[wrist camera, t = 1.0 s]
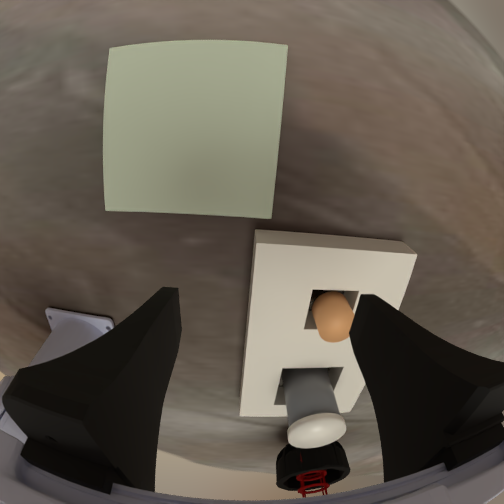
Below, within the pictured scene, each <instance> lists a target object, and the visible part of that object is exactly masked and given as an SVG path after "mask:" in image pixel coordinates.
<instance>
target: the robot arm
mask: <svg viewBox="0 0 504 504" xmlns="http://www.w3.org/2000/svg"><path fill="white" fill-rule="evenodd" d="M45 313H46V316H47V319H48V321H49V324H50V327H51V330H52V332H51V334H50V335H49V336H48V338H47V339H46V341H45V342H44V344H43V345H42V346H41V348H40V349H39V351H38V352H37V354H36V355H35V357H34V358H33V360H32V361H31V363H30V364H29V366H28V367H26V368H22V369H19V370H18V372H17V374H16V375H15V376H11V377H10V376H5V377H4V378H3V379H2V380H1V382H0V504H486V503H488V502H489V501H491V500H492V499H493V498H495V497H496V496H498V495H499V494H500V493H502V492H503V491H504V427H503V425H502V424H501V422H503V421H504V416H503V414H502V411H503V410H504V362H500V361H495V360H491V359H488V358H485V357H482V356H479V355H476V354H473V353H471V352H468V351H466V350H464V349H461V348H459V347H457V346H455V345H453V344H450V343H449V342H447V341H445V340H443V339H441V338H439V337H437V336H436V335H434V334H432V333H431V332H429V331H428V330H426V329H425V328H423V327H421V326H420V325H418V324H417V323H415V322H414V321H413V320H411V319H410V318H408V317H407V316H405V315H404V314H403V313H401V312H400V311H398V310H397V309H396V308H394V307H393V306H391V305H390V304H389V303H387V302H386V301H384V300H383V299H381V298H380V297H378V296H376V295H375V294H361V295H360V298H359V302H358V305H357V308H356V312H355V315H354V318H353V322H352V325H351V328H350V331H349V336H350V340H351V345H352V349H353V352H354V355H355V358H356V360H357V363H358V365H359V368H360V371H361V373H362V375H363V378H364V380H365V383H366V385H367V388H368V391H369V393H370V396H371V399H372V402H373V406H374V410H375V414H376V418H377V423H378V428H379V434H380V440H381V447H382V456H383V469H384V483H381V484H377V485H373V486H369V487H365V488H361V489H356V490H351V491H346V492H341V493H335V494H328V495H322V496H314V497H306V498H296V499H283V500H266V501H265V500H261V501H235V500H213V499H201V498H190V497H182V496H175V495H168V494H162V493H155V468H156V454H157V444H158V436H159V427H160V420H161V414H162V407H163V402H164V398H165V394H166V390H167V387H168V384H169V380H170V377H171V374H172V370H173V367H174V363H175V360H176V357H177V353H178V349H179V343H180V337H181V331H182V327H181V317H180V305H179V292H178V288H172V287H162V288H161V289H160V290H159V291H158V292H156V293H155V294H154V295H153V296H152V297H151V298H150V299H149V300H147V301H146V302H145V303H144V304H143V305H142V306H141V307H139V308H138V309H137V310H136V311H135V312H134V313H132V314H131V315H130V316H129V317H127V318H126V319H125V320H123V321H122V322H121V323H119V324H118V325H117V326H116V327H114V323H113V321H112V320H111V319H110V318H107V317H100V316H94V315H88V314H82V313H76V312H70V311H65V310H59V309H54V308H47V309H46V310H45ZM108 326H109V327H110V328H109V327H108Z"/></svg>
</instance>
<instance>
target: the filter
mask: <svg viewBox="0 0 504 504" xmlns="http://www.w3.org/2000/svg"><path fill="white" fill-rule="evenodd" d="M349 473H350V467H349V464H348V460H347V457H346V454H345V450H344V449H343V447H342V445H341V444H340V443H339V442H337V441H334V442H332V443H330V444H327V445H324V446H321V447H316V448H298V447H294V446H292V445H291V444H290V443H289V444H287V445H286V447H285V448H283V449H282V450H281V451H280V453H279V455H278V456H277V461H276V474H277V482H276V485H277V486H278V487H279V488H282V489H285V490H288V491H298V493H301V494H302V496H303V498H304V496H305V498H306V494H310V493H316V492H320V491H322V493H323V495H324V492H323V490H325V493H326V495H328V494H327V488H328V487H329V486H330V484H333V483H336V482H338V481H340V480H342V479H344V478H345V477H346V476H347V475H348V474H349ZM321 487H322V489H319V490H315V491H308V492H307V491H305V490H311V489H316V488H321ZM323 487H324V488H323Z"/></svg>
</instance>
